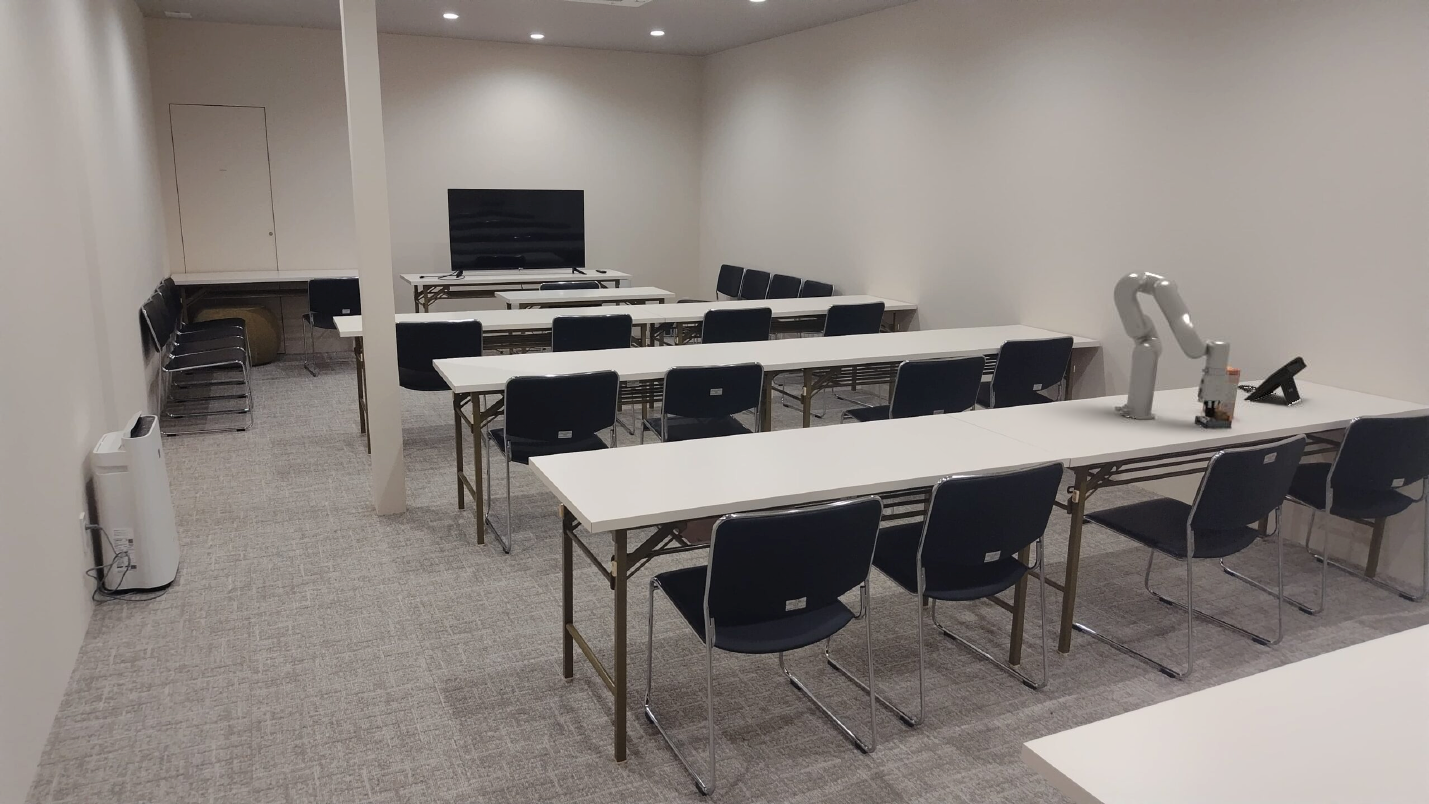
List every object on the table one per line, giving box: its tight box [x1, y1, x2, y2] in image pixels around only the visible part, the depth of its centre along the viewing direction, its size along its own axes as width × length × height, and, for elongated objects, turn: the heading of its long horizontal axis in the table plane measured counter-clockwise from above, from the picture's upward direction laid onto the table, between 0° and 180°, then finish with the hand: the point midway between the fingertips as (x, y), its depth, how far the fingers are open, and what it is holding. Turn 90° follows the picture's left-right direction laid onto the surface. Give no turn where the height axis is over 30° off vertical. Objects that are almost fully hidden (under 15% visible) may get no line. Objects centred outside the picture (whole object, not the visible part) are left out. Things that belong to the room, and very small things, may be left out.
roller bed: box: [1194, 414, 1234, 429], centre depth 356 cm, size 10×8×5 cm
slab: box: [1213, 409, 1228, 420], centre depth 356 cm, size 4×5×3 cm
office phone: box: [1238, 356, 1308, 406], centre depth 406 cm, size 29×28×20 cm
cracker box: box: [1202, 365, 1242, 420], centre depth 371 cm, size 14×6×21 cm, turn 179°
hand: (1209, 416), depth 355 cm, fingers closed
